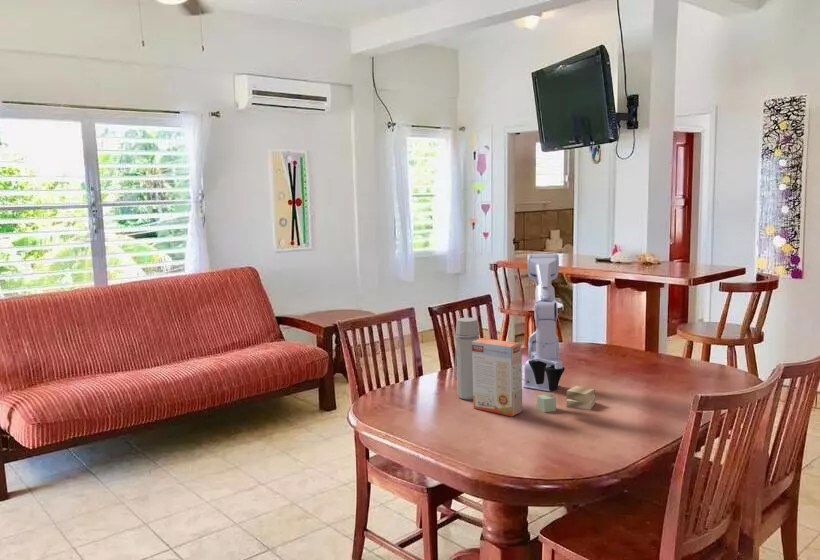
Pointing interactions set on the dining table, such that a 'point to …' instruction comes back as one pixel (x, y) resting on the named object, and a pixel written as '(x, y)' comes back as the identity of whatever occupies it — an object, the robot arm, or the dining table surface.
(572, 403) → the beech slab bottom
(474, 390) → the cracker box
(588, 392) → the beech slab top
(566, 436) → the dining table surface
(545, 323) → the robot arm
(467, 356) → the water bottle
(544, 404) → the sage cube
